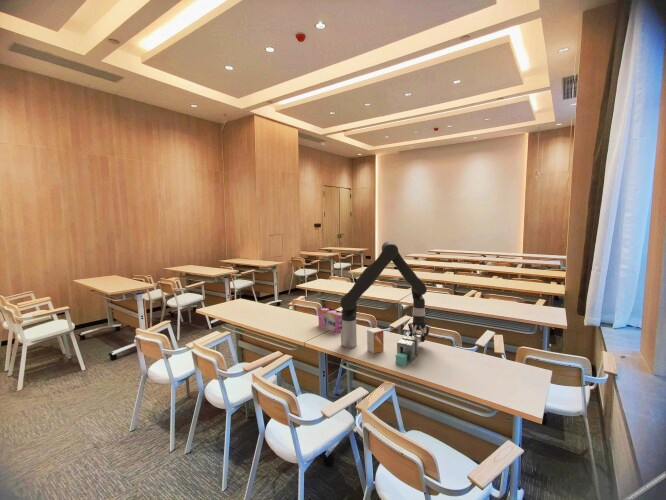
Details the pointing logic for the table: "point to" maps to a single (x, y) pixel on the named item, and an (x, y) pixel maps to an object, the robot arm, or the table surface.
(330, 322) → the gum box
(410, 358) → the bearing blocks
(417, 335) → the shaft
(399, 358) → the block
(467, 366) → the table surface
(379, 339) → the small box
